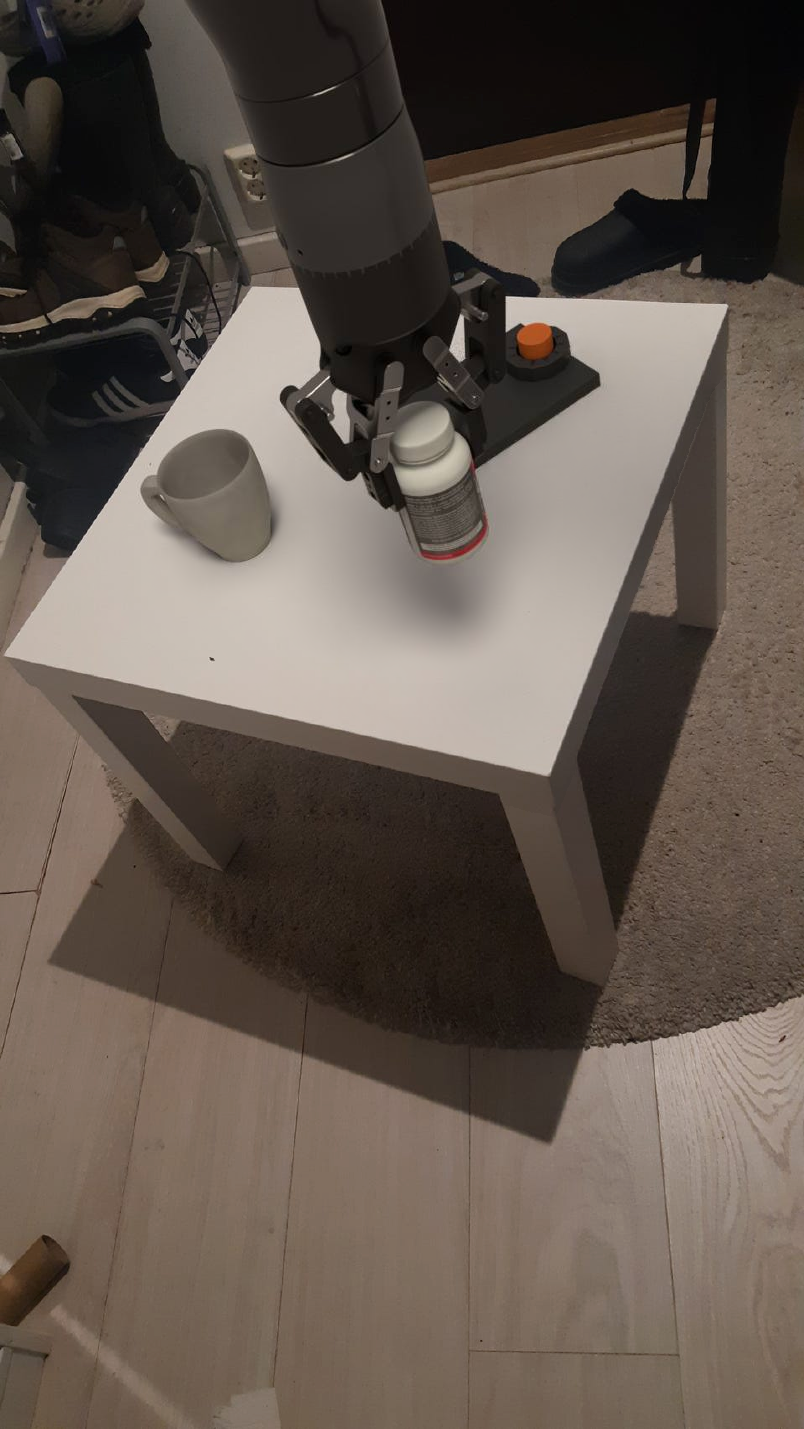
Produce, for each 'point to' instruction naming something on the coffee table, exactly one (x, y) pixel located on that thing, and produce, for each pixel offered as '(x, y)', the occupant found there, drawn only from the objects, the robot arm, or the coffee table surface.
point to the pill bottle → (437, 485)
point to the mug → (213, 493)
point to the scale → (525, 392)
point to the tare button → (535, 341)
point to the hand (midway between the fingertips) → (432, 476)
